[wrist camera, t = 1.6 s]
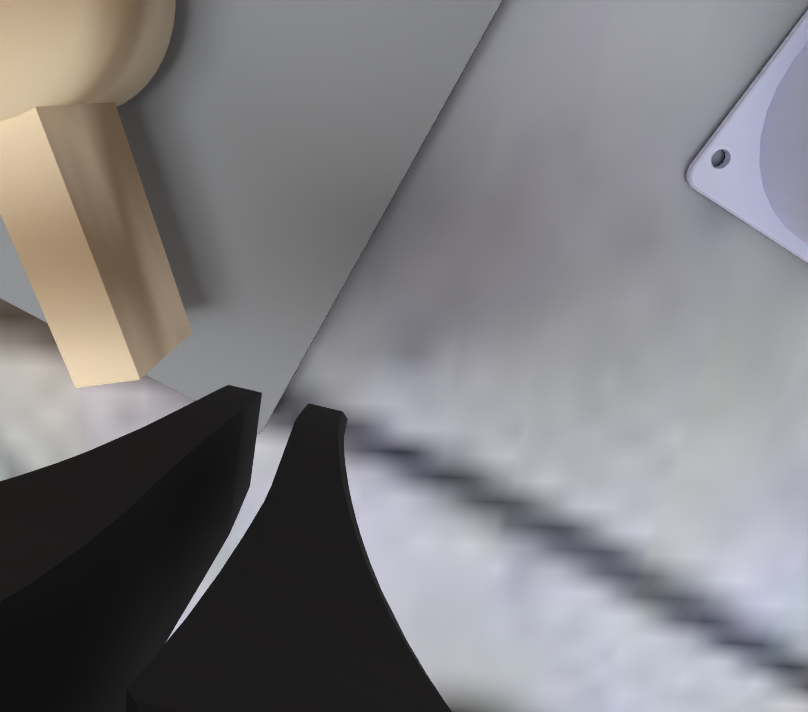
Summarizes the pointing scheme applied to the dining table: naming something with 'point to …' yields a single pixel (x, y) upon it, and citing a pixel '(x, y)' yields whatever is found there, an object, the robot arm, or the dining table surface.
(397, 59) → the base plate
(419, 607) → the dining table surface
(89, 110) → the beige rounded piece
